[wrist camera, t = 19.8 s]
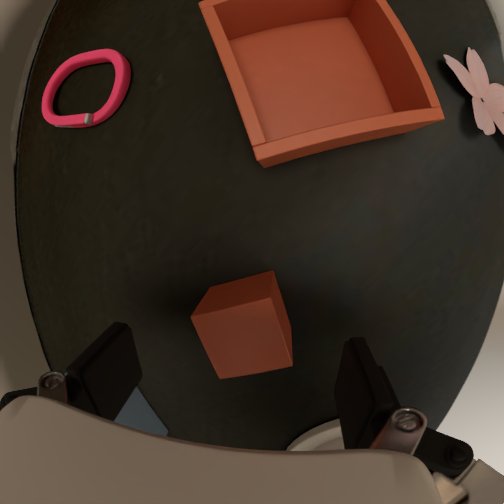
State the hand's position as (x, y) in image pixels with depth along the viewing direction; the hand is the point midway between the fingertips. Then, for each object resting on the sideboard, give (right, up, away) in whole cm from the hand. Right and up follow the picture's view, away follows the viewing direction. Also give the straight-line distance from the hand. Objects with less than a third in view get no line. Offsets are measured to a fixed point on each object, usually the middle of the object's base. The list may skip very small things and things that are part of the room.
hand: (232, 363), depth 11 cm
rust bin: (+4, +14, +2) cm, 15 cm away
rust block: (+1, +1, +6) cm, 6 cm away
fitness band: (-11, +16, +3) cm, 20 cm away
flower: (+17, +15, +1) cm, 23 cm away
